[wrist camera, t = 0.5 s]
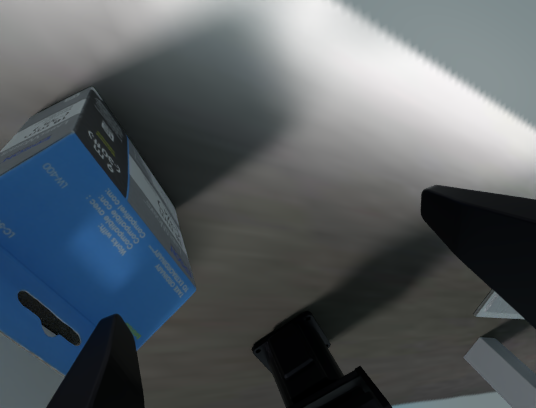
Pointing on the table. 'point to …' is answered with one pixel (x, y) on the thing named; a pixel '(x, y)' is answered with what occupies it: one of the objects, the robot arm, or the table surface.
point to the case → (496, 308)
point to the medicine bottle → (25, 377)
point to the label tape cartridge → (84, 231)
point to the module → (503, 372)
